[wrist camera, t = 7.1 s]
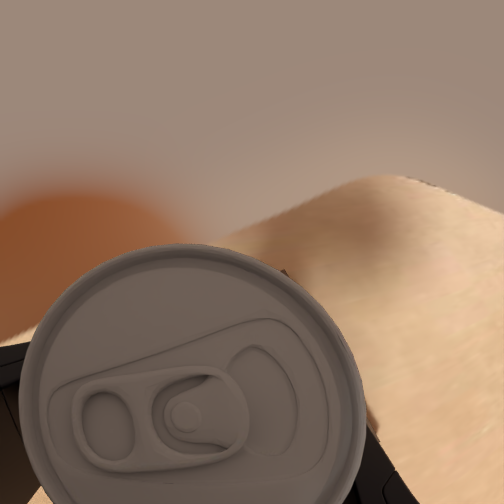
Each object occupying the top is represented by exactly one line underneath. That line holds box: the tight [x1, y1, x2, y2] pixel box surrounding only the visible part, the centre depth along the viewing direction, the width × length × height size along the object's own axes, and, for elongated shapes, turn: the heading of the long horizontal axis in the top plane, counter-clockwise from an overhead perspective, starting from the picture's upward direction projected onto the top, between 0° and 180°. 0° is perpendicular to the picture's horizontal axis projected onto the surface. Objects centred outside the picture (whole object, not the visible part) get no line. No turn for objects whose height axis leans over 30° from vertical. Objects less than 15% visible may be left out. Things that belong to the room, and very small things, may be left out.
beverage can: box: [19, 244, 366, 504], centre depth 9 cm, size 6×6×12 cm
